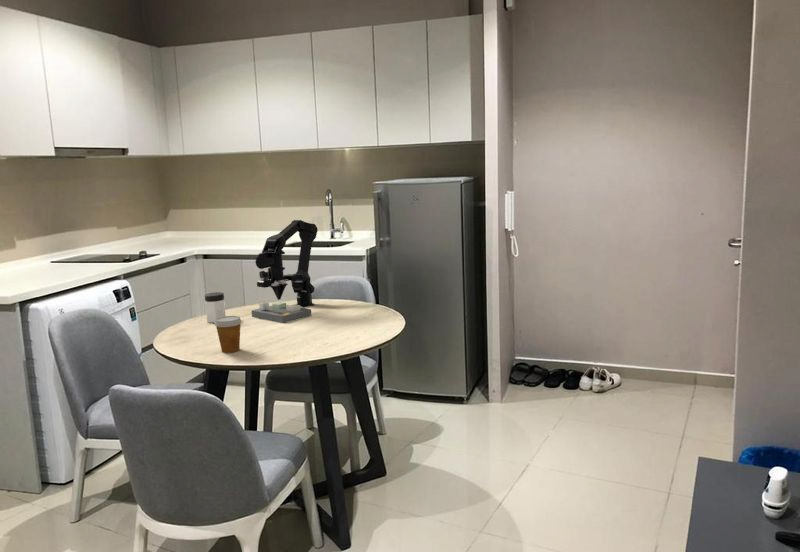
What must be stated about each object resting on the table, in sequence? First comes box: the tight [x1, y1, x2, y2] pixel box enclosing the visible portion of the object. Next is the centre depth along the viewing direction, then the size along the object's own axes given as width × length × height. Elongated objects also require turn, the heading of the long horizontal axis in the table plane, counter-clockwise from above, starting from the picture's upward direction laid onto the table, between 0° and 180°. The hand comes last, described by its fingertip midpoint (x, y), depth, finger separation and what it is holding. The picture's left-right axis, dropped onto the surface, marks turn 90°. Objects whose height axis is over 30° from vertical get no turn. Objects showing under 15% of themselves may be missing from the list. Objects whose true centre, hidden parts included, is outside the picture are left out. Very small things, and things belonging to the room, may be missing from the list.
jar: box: [204, 291, 227, 324], centre depth 288 cm, size 9×8×12 cm
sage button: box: [271, 301, 287, 309], centre depth 297 cm, size 4×4×2 cm
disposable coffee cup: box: [214, 315, 242, 354], centre depth 239 cm, size 10×10×12 cm
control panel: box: [251, 304, 312, 324], centre depth 291 cm, size 16×22×3 cm
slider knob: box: [258, 301, 270, 310], centre depth 291 cm, size 3×3×3 cm
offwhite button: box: [286, 304, 302, 312], centre depth 290 cm, size 4×4×2 cm
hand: (278, 299), depth 296 cm, fingers closed
